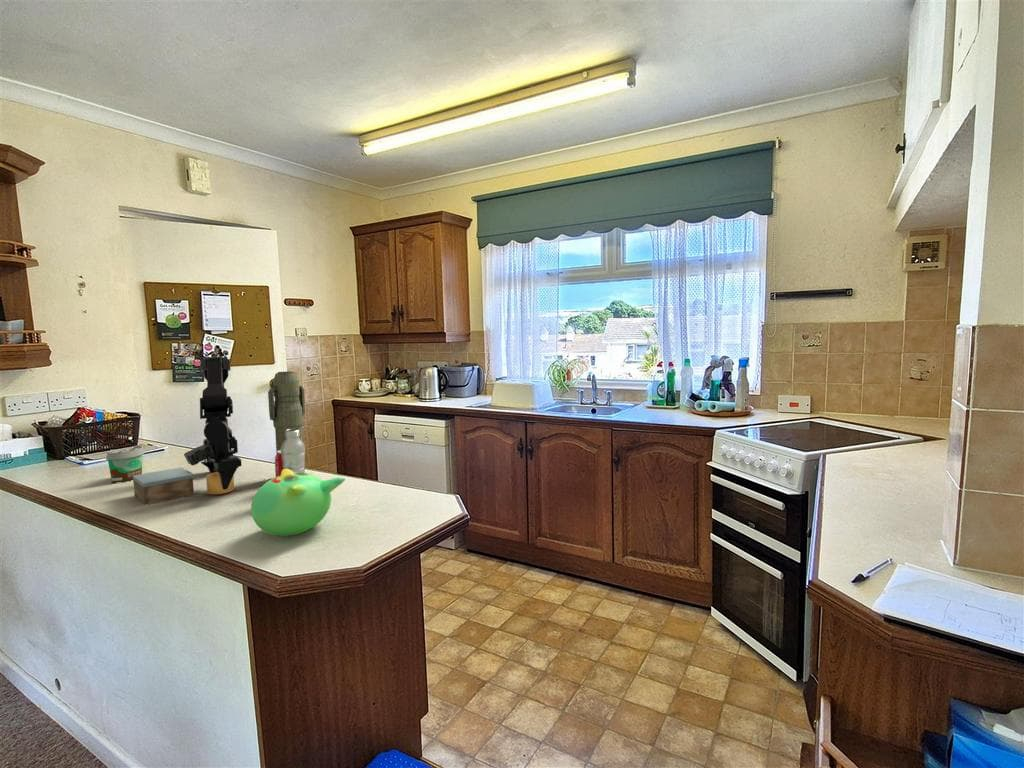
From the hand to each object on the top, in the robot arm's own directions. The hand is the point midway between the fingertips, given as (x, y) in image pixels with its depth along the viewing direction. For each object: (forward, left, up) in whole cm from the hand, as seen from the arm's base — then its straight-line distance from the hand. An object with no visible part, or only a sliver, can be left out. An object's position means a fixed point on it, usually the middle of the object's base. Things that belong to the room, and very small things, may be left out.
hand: (220, 487), depth 150 cm
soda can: (-15, +12, -2) cm, 19 cm away
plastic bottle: (-12, +23, -2) cm, 26 cm away
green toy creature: (-1, +47, -2) cm, 47 cm away
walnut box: (+12, -10, -2) cm, 16 cm away
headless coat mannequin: (-21, 0, -2) cm, 21 cm away
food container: (+14, -39, -2) cm, 41 cm away
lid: (+12, -10, +3) cm, 16 cm away
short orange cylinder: (0, 0, -1) cm, 1 cm away
